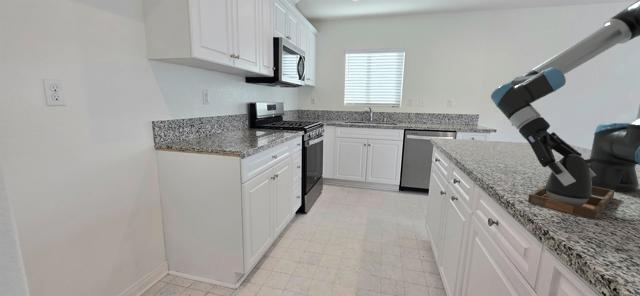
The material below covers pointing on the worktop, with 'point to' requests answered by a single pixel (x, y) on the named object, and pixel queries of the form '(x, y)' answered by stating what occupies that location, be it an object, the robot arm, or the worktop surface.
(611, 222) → the worktop surface
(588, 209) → the rack
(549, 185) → the dark grey egg shape
